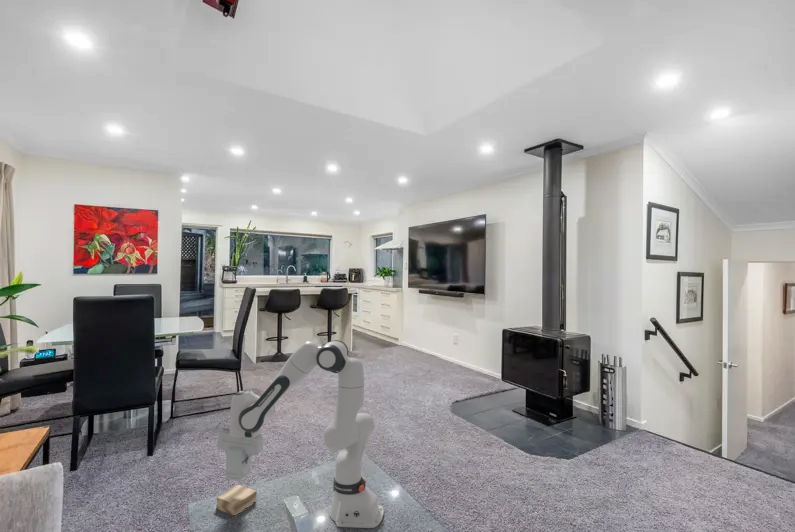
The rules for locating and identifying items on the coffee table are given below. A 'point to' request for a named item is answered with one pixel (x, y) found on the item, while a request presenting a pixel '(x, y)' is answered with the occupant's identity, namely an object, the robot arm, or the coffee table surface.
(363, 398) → the robot arm
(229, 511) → the oak riser block
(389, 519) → the coffee table surface
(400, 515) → the coffee table surface
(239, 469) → the supplement box
